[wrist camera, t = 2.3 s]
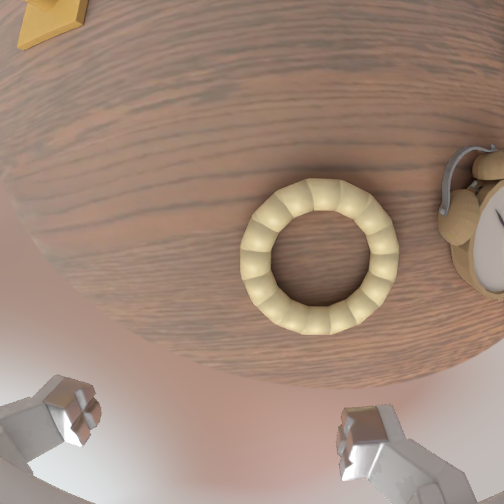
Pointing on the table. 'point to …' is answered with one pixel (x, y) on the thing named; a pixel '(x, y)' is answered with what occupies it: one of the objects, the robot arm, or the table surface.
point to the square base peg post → (49, 20)
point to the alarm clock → (476, 221)
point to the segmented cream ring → (298, 203)
